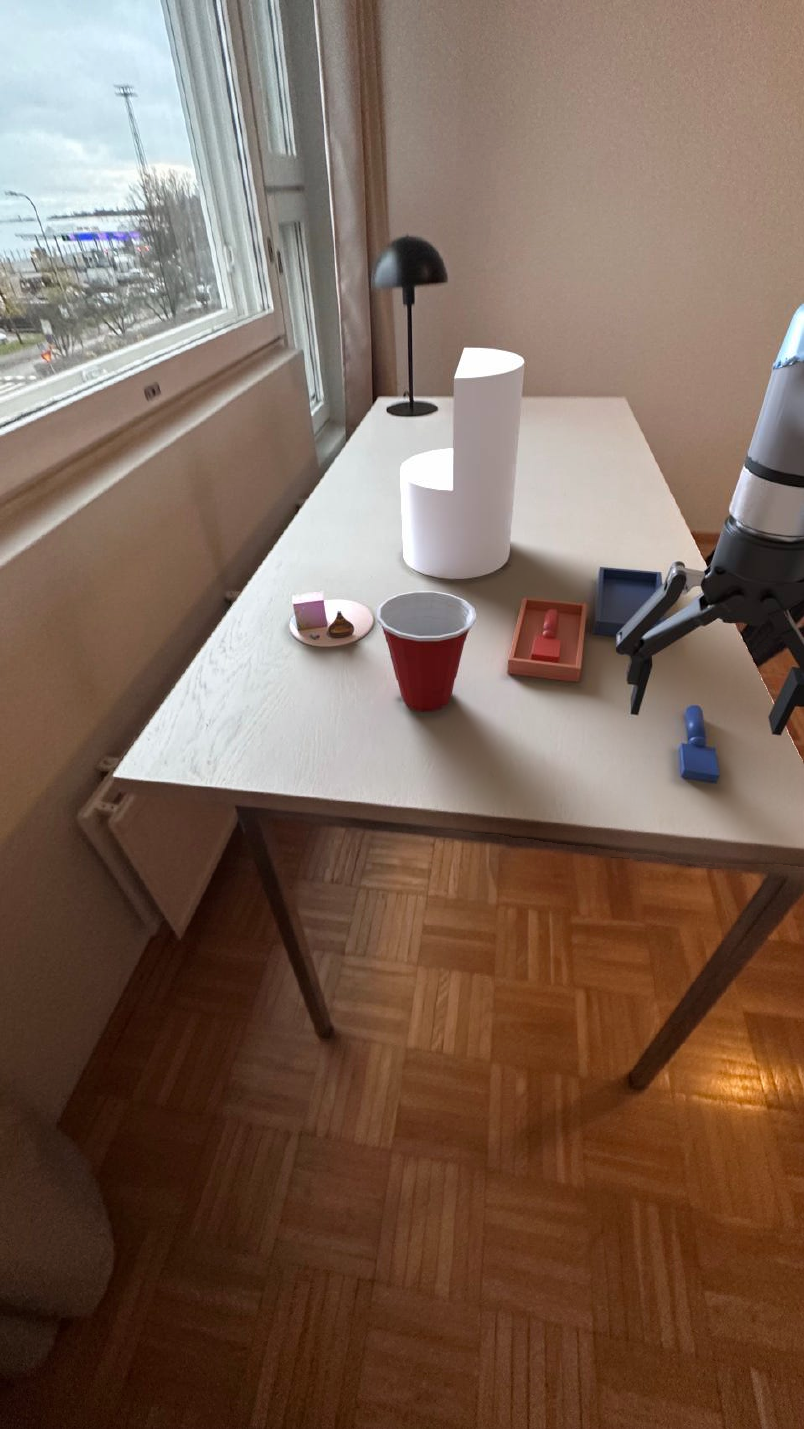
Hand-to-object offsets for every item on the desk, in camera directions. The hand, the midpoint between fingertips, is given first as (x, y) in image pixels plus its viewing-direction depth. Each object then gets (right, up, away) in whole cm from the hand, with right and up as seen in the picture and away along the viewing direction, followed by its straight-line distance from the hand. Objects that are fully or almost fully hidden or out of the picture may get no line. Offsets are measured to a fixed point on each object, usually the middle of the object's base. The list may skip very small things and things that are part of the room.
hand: (702, 716), depth 65 cm
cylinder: (-22, +27, +38) cm, 52 cm away
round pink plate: (-41, +13, +24) cm, 49 cm away
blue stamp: (0, -3, +2) cm, 4 cm away
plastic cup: (-28, +2, +11) cm, 30 cm away
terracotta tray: (-12, +10, +18) cm, 23 cm away
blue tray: (+1, +15, +23) cm, 28 cm away
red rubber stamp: (-12, +10, +17) cm, 23 cm away
